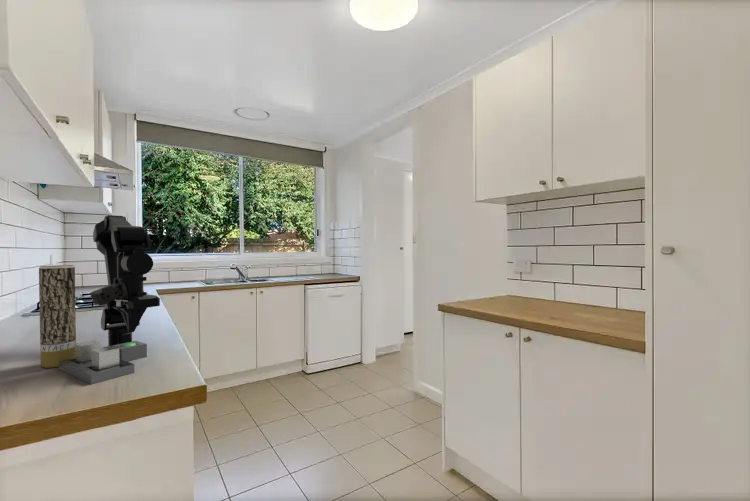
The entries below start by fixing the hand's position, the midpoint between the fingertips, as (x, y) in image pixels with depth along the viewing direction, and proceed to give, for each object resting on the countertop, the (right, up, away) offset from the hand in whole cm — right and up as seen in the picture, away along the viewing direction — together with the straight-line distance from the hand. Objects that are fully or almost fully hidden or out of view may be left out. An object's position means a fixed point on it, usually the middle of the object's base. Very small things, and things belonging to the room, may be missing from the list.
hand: (131, 332), depth 96 cm
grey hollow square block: (-1, -7, 0) cm, 7 cm away
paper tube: (-15, -7, -5) cm, 18 cm away
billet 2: (+2, -7, -12) cm, 14 cm away
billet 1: (-6, -7, -7) cm, 12 cm away
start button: (-1, -6, 0) cm, 6 cm away
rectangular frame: (-2, -7, -10) cm, 12 cm away
